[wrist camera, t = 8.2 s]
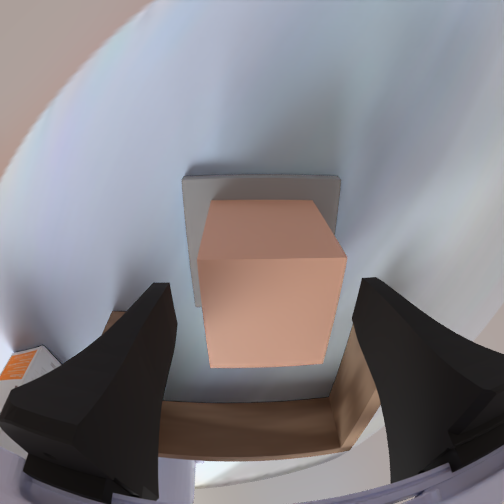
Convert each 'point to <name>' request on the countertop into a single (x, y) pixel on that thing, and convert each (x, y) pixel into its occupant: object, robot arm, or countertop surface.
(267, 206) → the block
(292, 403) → the open box
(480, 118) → the countertop surface
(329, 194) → the mat
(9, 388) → the skincare box
